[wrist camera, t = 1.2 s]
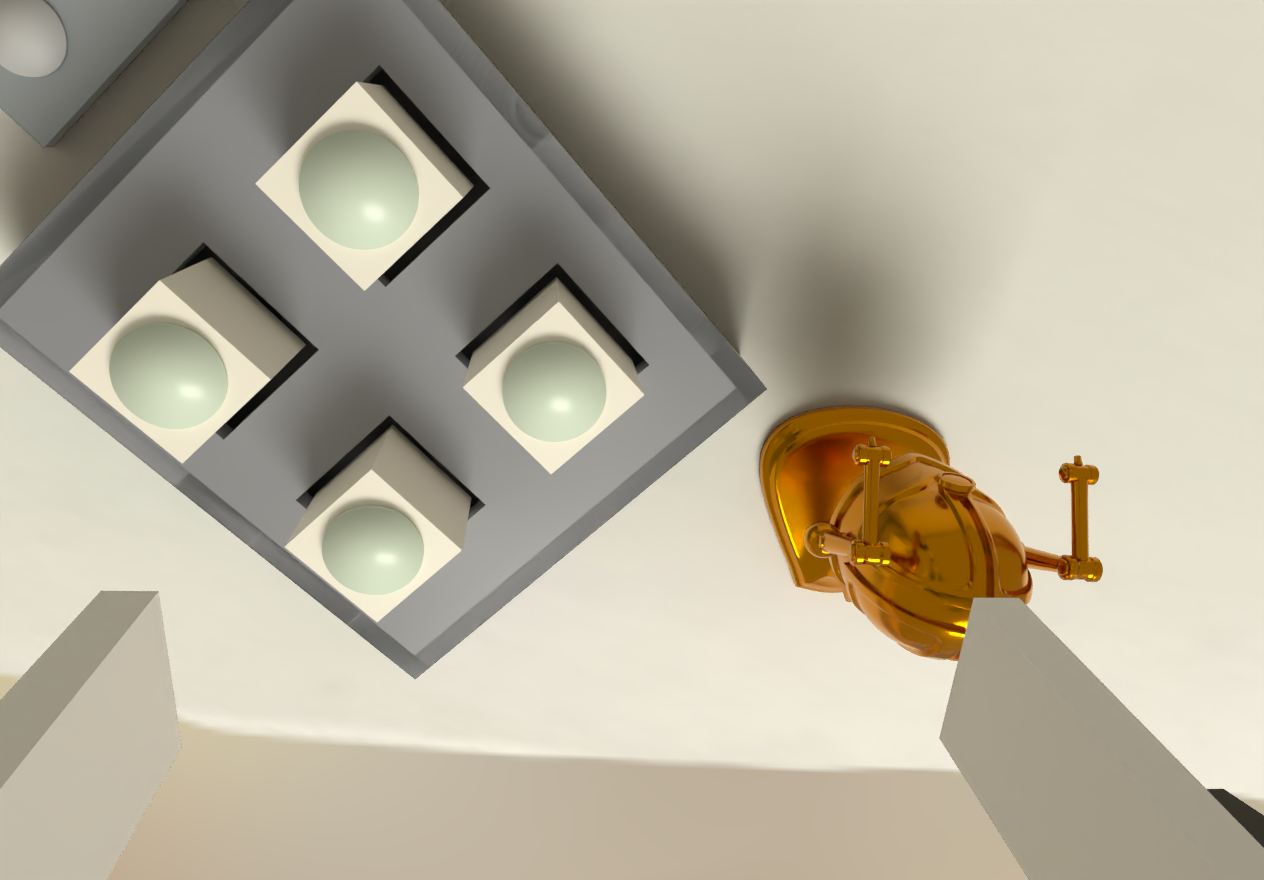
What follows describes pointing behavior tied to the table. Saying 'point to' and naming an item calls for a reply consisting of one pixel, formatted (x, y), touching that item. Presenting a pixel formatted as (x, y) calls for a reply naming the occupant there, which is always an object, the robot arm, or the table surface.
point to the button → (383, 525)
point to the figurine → (902, 524)
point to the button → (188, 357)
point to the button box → (373, 303)
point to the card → (69, 56)
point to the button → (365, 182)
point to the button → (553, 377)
